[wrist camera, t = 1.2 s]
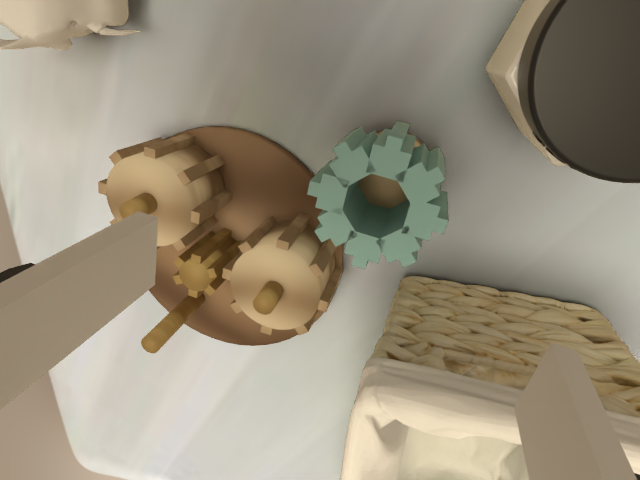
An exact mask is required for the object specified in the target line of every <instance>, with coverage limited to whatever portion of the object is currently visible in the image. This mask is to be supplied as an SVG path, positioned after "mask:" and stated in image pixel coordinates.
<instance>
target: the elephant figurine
mask: <svg viewBox="0 0 640 480" xmlns="http://www.w3.org/2000/svg"><path fill="white" fill-rule="evenodd" d="M128 16H129V8H128V0H0V24H3V25H5V26H6V27H7V28H8V29H9V30H10V31H11V32H13V33H14V34H15V35H17V36H18V37H19V38H20V39H17V40H2V39H0V49H24V48H30V47H47V48H54V49H62V50H67V49H69V48H70V47H71V46H72V42H71V41H70V40H69V38H75V37H81V36H85V35H88V34H90V33H93V32H96V33H100V35H128V34H133V33H138V32H143V31H137V30H114V29H110V28H107V27H106V25H107V26H115V25H124V24H125V23H126V22H127V19H128Z"/></svg>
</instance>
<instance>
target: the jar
mask: <svg viewBox="0 0 640 480" xmlns="http://www.w3.org/2000/svg"><path fill="white" fill-rule="evenodd" d="M486 72H487V74H488V75H489V77H490V79H491V81H492V83H493V84H494V86H495V88H496V90H497V91H498V93H499V95H500V97H501V99H502V100H503V102H504V104H505V106H506V107H507V109H508V111H509V113H510V115H511V116H512V118H513V120H514V122H515V123H516V125H517V127H518V129H519V130H520V132H521V133H522V134H523V135H524V136H525V137H526V138H527V139H528V140H529V141H530V142H531V143H532V144H533V145H534V146H535V147H536V148H537V149H538V150H539V151H540V152H541V153H542V154H543V155H544V156H545V157H546V158H547V159H548V160H549V161H550V162H551V163H552V164H554V165H556V166H570V167H571V168H572V169H575V170H577V171H579V172H582V173H584V174H586V175H589V176H592V177H595V178H598V179H602V180H607V181H613V182H621V183H640V0H525V1H524V2H523V4H522V6H521V7H520V9H519V11H518V13H517V14H516V16H515V18H514V19H513V21H512V23H511V25H510V26H509V28H508V30H507V31H506V33H505V35H504V37H503V38H502V40H501V42H500V43H499V45H498V47H497V48H496V50H495V52H494V54H493V55H492V57H491V59H490V60H489V62H488V64H487V66H486Z"/></svg>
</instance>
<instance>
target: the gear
mask: <svg viewBox="0 0 640 480" xmlns="http://www.w3.org/2000/svg"><path fill="white" fill-rule="evenodd" d="M409 126H410V124H407V123H403V122H399V121H396V123H395V125H394V126H393V128H392V129H391V130H389V129H386V128H384V130H383V131H382V132H381V134H380V135H379V136H378V135H377V133H376V131H375V130H373V131H372V132H370V133H368V134H367V135H366V133H365V132H364V130H363V128H362V126H361V127H359V128H357V129H356V130H354V131H353V132H351V133H350V134H349V135H347V136H346V137H345V138H344V139H343V140H342V141H341V142H340V143H339V144H337V145H336V146H335V147H334V148H333V151H334V152H335V154H336V156H337V157H336V158H335V159H334V160H333V161H332V160H330V161H329V162H328V163H327V164H326V165H325V166H324V167H323V168H322V169H321V170H320V171H319V172H318V173H317V174H316V175H315V176H314V177H313V178H312V179H311V180H310V183H309V188H308V192H307V195H311V196H314V197H317V202H316V206H315V207H316V208H319V209H323V210H322V212H321V213H320V214H319V216H318V217H317V218H318V220H319V221H320V223H319V225H318V226H317V228H316V229H315V230H314V231H315V233H316V235H317V236H318V238H319V239H320V241H321V242H324V241H326V240H328V239H331V240H332V242H333V243H334V245H335V247H336V246H338V245H340V244H342V243H345V242H347V244H346V248H345V252H344V253H345V254H348V255H352V256H354V259H353V262H352V266H356V267H359V268H362V269H365V268H366V265H367V262H368V261H371V262H374V263H377V264H378V262H379V259H380V255H381V252H382V253H383V255H384V256H385V258H386V260H387V261H388V263H390V262H392V261H394V260H397V259H399V261H400V263H401V264H402V266H403V268H404V267H406V266H408V265H411V264H413V263H415V262H417V253H418V250H419V249H421V245H422V239H424V240H427V241H429V238H430V236H431V233H432V231H434V232H438V233H441V234H444V231H445V229H446V226H447V223H448V221H449V220H448V199H447V192H444V191H441V182H443V181H444V180H445V158H444V156H443V154H442V152H441V150H440V148H439V146H438V147H437V148H435V149H433V150H431V151H429V150H428V148H427V146H426V145H425V143H423V144H422V145H420V146H418V147H416V148H414V145H415V141H416V136H412V135H408V134H407V132H408V129H409ZM413 148H414V149H413ZM369 174H375V175H378V176H382V177H385V178H389V179H393V180H396V181H398V183H399V184H400V186H401V188H402V190H403V191H404V193H405V195H406V197H407V198H408V200H407V201H405V202H403V203H401V204H399V205H397V206H395V207H393V208H391V209H387V208H384V207H380V206H377V205H373V204H370V203H368V201H367V199H366V198H365V196H364V194H363V193H362V191H361V189H360V188H359V186H358V183H359V180H360V179H362V178H364V177H366V176H368V175H369Z"/></svg>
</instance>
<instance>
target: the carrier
mask: <svg viewBox="0 0 640 480" xmlns="http://www.w3.org/2000/svg"><path fill="white" fill-rule="evenodd" d="M109 158H110V159H111V161H112V162H113V163H114V167H113V168H112V169H111V171H110V173H109V176H108V179H105V180H102V181H100V182H98V185H99V193H101V194H104V195H107V200H108V204H109V207H110V209H111V212H112V214H113V215H114V217H115V219H113V220H112V221H111V222H110V223H111V225H113V224H115V223H116V222H118V221H120V220H122V219H124V218H126V217H128V216H130V215H132V214H134V213H136V212H138V211H139V212H142V213H146V214H149V215H152V216H155V217H158V232H157V254H156V275H155V285H154V286H153V287H152V288H150V289H149V291H150V292H151V293H152V295H153V296H154V297H155V298H156V299H157V301H158V302H159V303H160V304H161V305H162V306H163V307H164V308H165V309H166V310H167V311H169V312H170V313H169V314H168V315H167V316H166V317H165V318H164V319H163V320H162V321H161V322H160V323H159V324H158V325H156V326H155V327H154V328H153V329H152V330H151V331H150V332H149V333H148V334H147V335H146V336H145V337H144V338H143V339H142V341H141V344H142V347H143V348H144V349H145V350H146V351H147V352H149V353H156V352H157V351H158V350H159V349H160V348H161V347H162V346H163V345H164V344H165V343H166V342H167V341H168V340H169V339H170V337H171V336H172V335H173V334H174V333H175V332H176V331H177V330H178V329H179V328H180V327H181V326H182V325H183V324H186V325H187V326H189V327H191V328H192V329H194V330H196V331H198V332H200V333H202V334H204V335H207V336H209V337H211V338H214V339H217V340H220V341H224V342H227V343H233V344H238V345H251V346H254V345H267V344H273V343H278V342H281V341H284V340H287V339H290V338H292V337H294V336H296V335H298V334H299V335H301V334H304V333H306V332H308V331H309V329H310V327H311V325H312V324H313V323H314V322H315V321H316V320H317V319H318V318H319V317H320V316H321V315H322V313H323V312H326V311H327V308H328V306H329V304H330V302H331V299H332V297H333V295H334V293H335V290H336V288H337V286H338V284H339V281H340V279H341V276H342V272H343V268H342V265H343V243H342V244H340V245H338V246H336V247H335V245H334V243H333V242H332V240H331V239H328V240H326V241H324V242H321V241H320V239H319V238H318V236H317V235H316V233H315V231H314V230H315V229H316V228H317V226H318V225H319V223H320V221H319V220H318V218H317V217H318V216H319V214H320V213H321V212H322V210H323V209H319V208H316V207H315V206H316V202H317V197H314V196H311V195H307V192H308V188H309V183H310V180H311V179H312V178H313V177H314V175H313V174H312V173H311V172H310V171H309V170H308V169H307V167H306V166H305V165H304V164H303V163H302V162H300V161H299V160H298V159H297V158H296V157H295V156H294V155H292V154H291V153H290V152H289V151H287V150H286V149H284V148H283V147H281V146H280V145H278V144H277V143H275V142H273V141H271V140H269V139H267V138H265V137H263V136H261V135H258V134H255V133H252V132H249V131H246V130H242V129H237V128H232V127H221V126H211V127H200V128H196V129H191V130H187V131H184V132H181V133H178V134H176V135H173V136H171V137H168V138H166V139H165V140H162V139H161V137H160V138H157V139H154V140H150V141H147V142H144V143H140V144H137V145H134V146H131V147H127V148H124V149H121V150H118V151H116V152H114V153H113V154H112V155H111V156H109Z"/></svg>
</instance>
